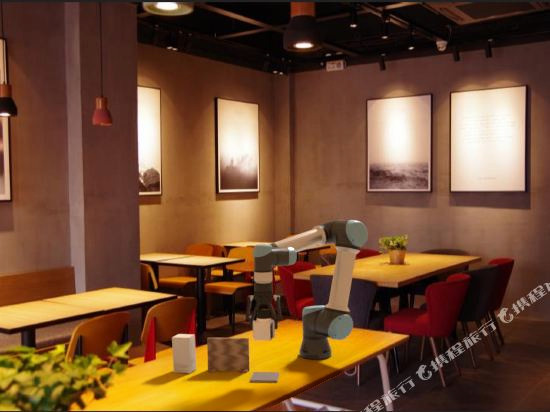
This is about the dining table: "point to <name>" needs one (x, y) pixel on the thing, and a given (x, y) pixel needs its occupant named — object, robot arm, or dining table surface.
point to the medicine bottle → (263, 325)
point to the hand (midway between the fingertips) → (264, 336)
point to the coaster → (264, 377)
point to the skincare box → (184, 353)
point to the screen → (228, 354)
